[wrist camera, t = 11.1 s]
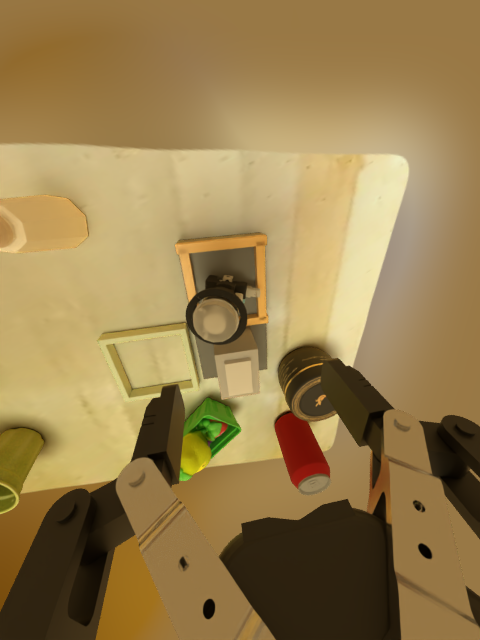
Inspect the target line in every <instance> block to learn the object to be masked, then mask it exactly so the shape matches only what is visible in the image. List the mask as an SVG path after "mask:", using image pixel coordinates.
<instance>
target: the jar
mask: <svg viewBox="0 0 480 640" xmlns="http://www.w3.org/2000/svg"><path fill="white" fill-rule="evenodd" d="M329 359H332V358H331V357H330V356H329V355H328V354H327V353H325V352H324V351H322V350H320V349H318V348H314V347H304V348H299V349H296V350H294V351H292V352H291V353H289V354H288V355H287V356H286V357H285V358H284V359H283V361H282V362H281V364H280V366H279V370H278V377H279V383H280V386H281V388H282V391H283V393H284V395H285V400H286V402H287V404H288V406H289V408H290V410H291V411H292V413H293V414H294V415H295V416H296V417H297V418H299V419H301V420H304V421H320V420H324V419H327V418H330V417H332V416H334V415H335V414H337V412H336V411H335V409H334V407H333V406H332V404H331V403H330V401H329V400H328V398H327V397H326V395H325V394H324V392H323V390H322V388H321V383H320V380H321V372H322V364H323V361H324V360H329Z"/></svg>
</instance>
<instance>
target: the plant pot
mask: <svg viewBox="0 0 480 640" xmlns="http://www.w3.org/2000/svg"><path fill="white" fill-rule="evenodd" d="M43 445H44V440H42V438H41V435H40V434H39V433H37V432H36V431H33V430H30V429H27V428H18V429H9V430H6V431H5V432H3V433H2V434H1V435H0V514H2V513H5V512H8V511H10V510H11V509H13V508H14V507H16V505H17V504H18V502H19V500H20V495H19V494H20V492H21V490H22V487H23V483H24V481H25V479H26V477H27V475H28V473H29V471H30V470H31V468H32V466H33V464H34V462H35V460H36V458H37V456H38V454H39V452H40V451H41V449H42V447H43Z"/></svg>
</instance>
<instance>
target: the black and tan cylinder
mask: <svg viewBox="0 0 480 640" xmlns="http://www.w3.org/2000/svg"><path fill="white" fill-rule="evenodd" d="M232 279H233V276H230V275H224V277H223V280H222V279H217V276H214V275H209V276H208V278H207V279H206V280H205V290H202V291H200V292H199V293H197V294H196V295H195V296H194V297H193V298H192V299H191V301H190V302H189V304H188V306H187V309H186V321H187V324H188V326H189V328H190V330H191V331H192V333H193V334H194V335H195V336H196V337H198V338H199V339H200V340H202V341H204V342H206V343H209V344H214V345H224V344H228V343H231V342H233V341H235V340H237V339H238V338H239V337H240V336H241V335H242V334H243V332H244V331H245V329H246V326H247V319H248V317H247V310H246V307H245V305H244V303H245V298H246V297H249V298H250V297H260V293H261V292H260V289H259V288H252V286H247V282H237V281H232ZM256 290H257V291H256ZM255 292H257V293H255ZM254 294H256V295H254ZM202 299H203V301H202V303H200V304H199V305H198V306H197V304H198V302H199V301H200V300H202ZM238 311H239V313H240V317H241V318H240V320H239V317H238Z"/></svg>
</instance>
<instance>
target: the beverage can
mask: <svg viewBox="0 0 480 640" xmlns="http://www.w3.org/2000/svg"><path fill="white" fill-rule="evenodd" d="M275 432H276V435H277V438H278V441H279V445H280V448H281V451H282V454H283V457H284V460H285V463H286V467H287V470H288V473H289V476H290V479H291V481H292V483H293V484H294V485H295V486H296V487H297V489H298V490H299V492H300V493H301V494H303V495H313V494H317V493H320V492H322V491H324V490H325V489H327V488H328V486H329V485H330V483H331V480H330V468H329V466H328V463H327V461H326V459H325V457H324V455H323V453H322V451H321V449H320V446H319V444H318V442H317V440H316V438H315V436H314V434H313V432H312V430H311V428H310V426H309V424H308V422H307V421H304V420H301V419H299V418H297V417H296V416H295V415H294V414H293V413H288V414H285V415H283V416H282V417H281V418H279V419H278V420H277V422H276V423H275Z"/></svg>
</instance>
